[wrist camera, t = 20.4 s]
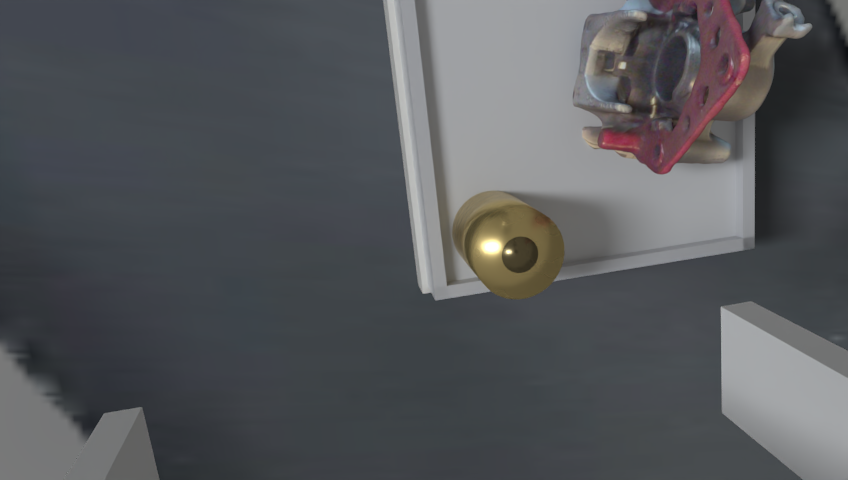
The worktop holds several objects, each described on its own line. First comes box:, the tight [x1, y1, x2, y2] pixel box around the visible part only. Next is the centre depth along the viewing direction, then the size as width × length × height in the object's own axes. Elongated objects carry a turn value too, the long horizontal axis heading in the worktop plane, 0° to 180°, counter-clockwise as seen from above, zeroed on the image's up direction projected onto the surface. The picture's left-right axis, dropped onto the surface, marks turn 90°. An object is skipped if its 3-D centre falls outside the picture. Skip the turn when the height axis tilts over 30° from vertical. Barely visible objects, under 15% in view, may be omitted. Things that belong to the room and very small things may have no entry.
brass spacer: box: [452, 190, 564, 299], centre depth 40 cm, size 5×5×6 cm
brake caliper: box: [573, 0, 812, 174], centre depth 38 cm, size 11×11×12 cm
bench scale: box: [383, 0, 755, 300], centre depth 41 cm, size 26×22×9 cm
